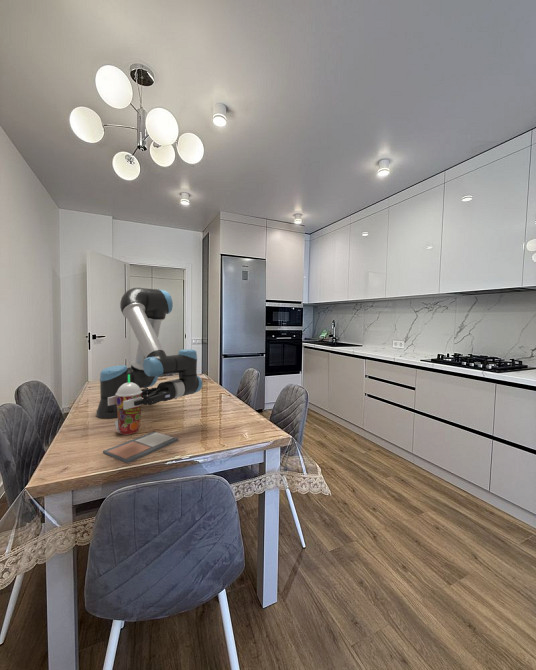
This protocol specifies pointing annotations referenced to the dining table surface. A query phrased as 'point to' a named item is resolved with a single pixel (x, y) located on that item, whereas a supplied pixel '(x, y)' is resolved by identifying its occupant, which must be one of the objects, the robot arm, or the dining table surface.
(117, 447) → the game board
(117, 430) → the die
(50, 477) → the dining table surface
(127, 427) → the smoothie
